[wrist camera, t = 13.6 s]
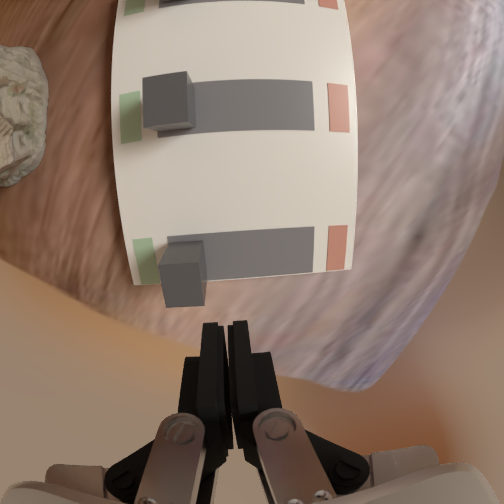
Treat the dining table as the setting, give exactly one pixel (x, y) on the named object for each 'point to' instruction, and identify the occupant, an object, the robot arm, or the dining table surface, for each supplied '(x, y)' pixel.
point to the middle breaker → (168, 102)
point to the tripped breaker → (183, 274)
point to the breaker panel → (239, 136)
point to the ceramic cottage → (21, 113)
